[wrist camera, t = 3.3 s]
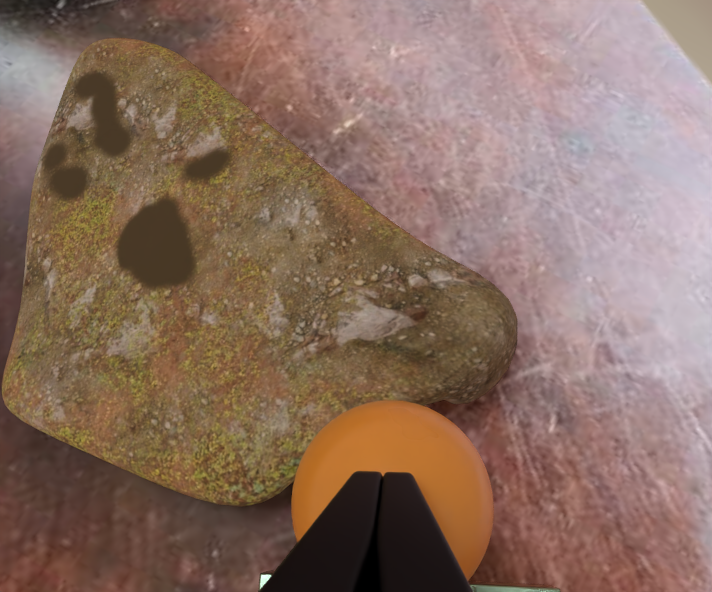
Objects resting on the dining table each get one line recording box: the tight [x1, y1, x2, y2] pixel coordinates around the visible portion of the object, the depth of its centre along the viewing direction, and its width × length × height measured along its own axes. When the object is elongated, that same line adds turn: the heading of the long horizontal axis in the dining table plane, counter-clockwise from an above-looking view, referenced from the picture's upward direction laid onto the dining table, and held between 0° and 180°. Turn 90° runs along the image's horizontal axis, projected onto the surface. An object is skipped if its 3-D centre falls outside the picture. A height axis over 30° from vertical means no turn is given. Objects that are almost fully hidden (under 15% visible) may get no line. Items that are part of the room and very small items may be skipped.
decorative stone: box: [2, 38, 517, 506], centre depth 23 cm, size 25×15×5 cm, turn 42°
